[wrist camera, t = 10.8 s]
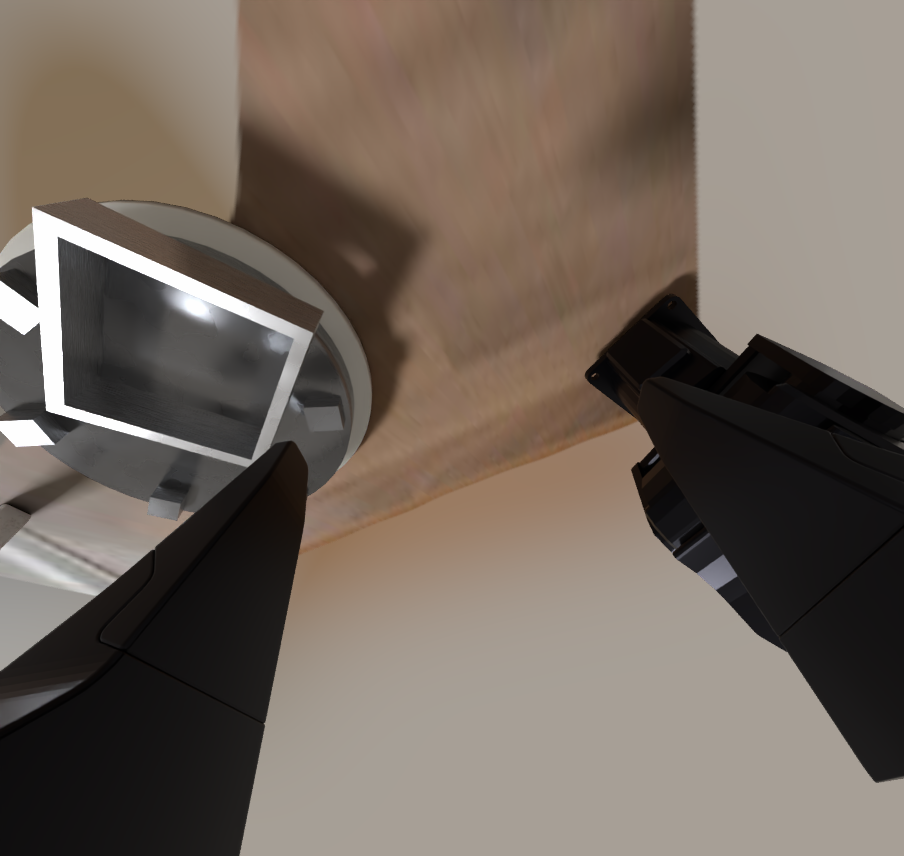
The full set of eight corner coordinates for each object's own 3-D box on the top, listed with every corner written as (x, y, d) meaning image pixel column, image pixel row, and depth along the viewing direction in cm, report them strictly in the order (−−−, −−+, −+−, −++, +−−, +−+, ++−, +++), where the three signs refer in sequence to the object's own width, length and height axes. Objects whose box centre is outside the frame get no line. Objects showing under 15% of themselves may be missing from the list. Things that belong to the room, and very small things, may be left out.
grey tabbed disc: (306, 515, 28) (293, 568, 25) (24, 445, 22) (-49, 503, 18) (404, 333, 20) (403, 373, 16) (-15, 124, 13) (-168, 117, 10)
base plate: (429, 345, 22) (431, 355, 21) (301, 516, 30) (298, 529, 29) (14, 80, 13) (-18, 75, 12) (-1, 420, 22) (-20, 433, 21)
